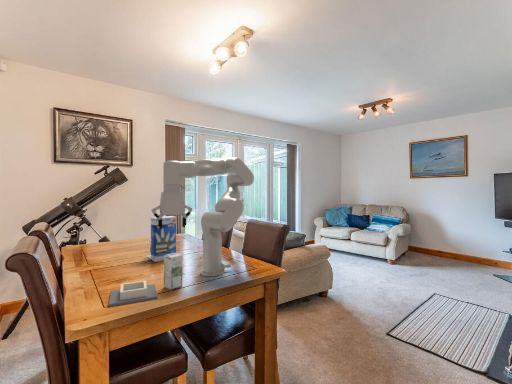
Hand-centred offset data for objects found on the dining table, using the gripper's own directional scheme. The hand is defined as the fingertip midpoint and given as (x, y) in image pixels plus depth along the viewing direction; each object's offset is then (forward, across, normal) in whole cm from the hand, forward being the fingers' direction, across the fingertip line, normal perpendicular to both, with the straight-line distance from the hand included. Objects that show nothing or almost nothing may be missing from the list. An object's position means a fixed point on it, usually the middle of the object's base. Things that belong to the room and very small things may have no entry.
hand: (172, 227), depth 117 cm
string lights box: (+26, -1, -48) cm, 55 cm away
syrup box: (+27, 0, 0) cm, 27 cm away
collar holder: (+26, +16, +3) cm, 31 cm away
